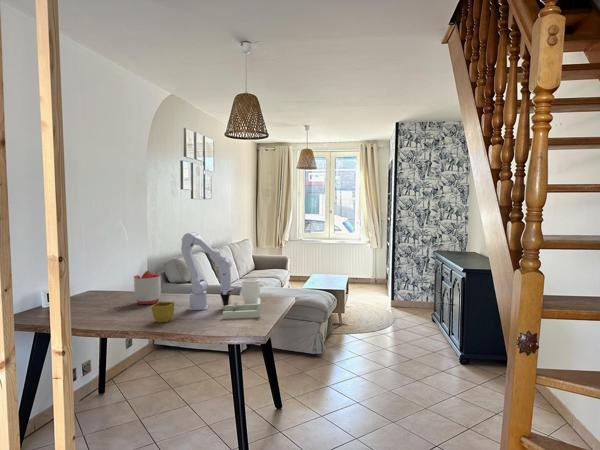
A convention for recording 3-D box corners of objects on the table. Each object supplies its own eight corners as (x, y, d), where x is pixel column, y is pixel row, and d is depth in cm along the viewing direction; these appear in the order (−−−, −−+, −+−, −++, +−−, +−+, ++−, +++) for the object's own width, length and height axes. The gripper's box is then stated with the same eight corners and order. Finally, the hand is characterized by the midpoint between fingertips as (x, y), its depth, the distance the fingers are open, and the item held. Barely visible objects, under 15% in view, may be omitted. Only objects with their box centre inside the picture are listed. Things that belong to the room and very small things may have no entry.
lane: (222, 318, 206) (222, 305, 206) (225, 311, 221) (225, 299, 221) (260, 317, 208) (260, 304, 208) (260, 310, 223) (260, 297, 223)
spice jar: (220, 310, 224) (220, 294, 224) (221, 307, 230) (221, 291, 230) (231, 309, 225) (230, 293, 225) (231, 307, 231) (231, 291, 230)
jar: (261, 302, 241) (261, 278, 240) (258, 307, 230) (257, 281, 230) (244, 302, 242) (244, 278, 241) (240, 306, 231) (239, 281, 231)
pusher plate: (233, 316, 209) (233, 307, 209) (234, 311, 220) (234, 302, 219) (236, 316, 209) (235, 307, 209) (237, 311, 220) (237, 302, 220)
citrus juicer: (154, 298, 257) (153, 267, 256) (165, 302, 245) (164, 270, 244) (129, 302, 247) (128, 270, 246) (140, 307, 234) (139, 273, 233)
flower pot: (151, 323, 200) (150, 305, 200) (159, 318, 209) (159, 301, 208) (167, 323, 199) (167, 306, 198) (175, 319, 208) (175, 302, 207)
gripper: (231, 283, 220) (232, 307, 221) (233, 278, 235) (234, 301, 235) (218, 283, 219) (219, 307, 220) (221, 278, 234) (222, 301, 234)
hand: (226, 304), depth 228 cm, fingers closed on spice jar, 5 cm apart
